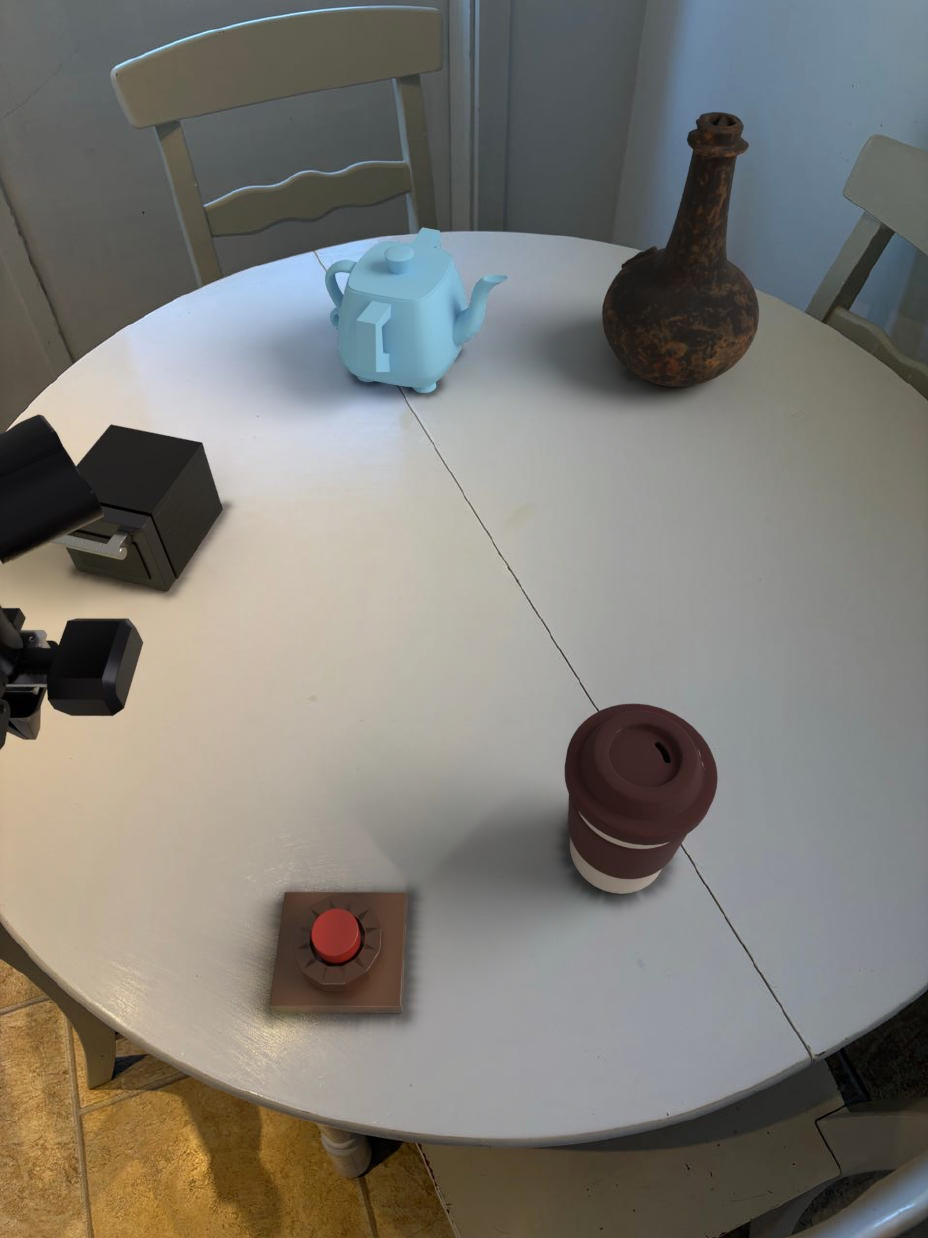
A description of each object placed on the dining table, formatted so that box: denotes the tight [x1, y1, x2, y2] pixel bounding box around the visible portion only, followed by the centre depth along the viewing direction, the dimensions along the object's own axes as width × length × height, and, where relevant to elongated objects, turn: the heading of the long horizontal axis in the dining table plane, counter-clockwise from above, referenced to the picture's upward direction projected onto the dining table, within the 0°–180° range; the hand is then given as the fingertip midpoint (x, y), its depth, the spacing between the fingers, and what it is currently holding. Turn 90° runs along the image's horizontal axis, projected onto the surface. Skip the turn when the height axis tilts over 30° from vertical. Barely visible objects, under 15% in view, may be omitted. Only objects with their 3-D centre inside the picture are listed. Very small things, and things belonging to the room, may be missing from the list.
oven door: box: [49, 506, 177, 592], centre depth 83 cm, size 4×10×9 cm, turn 74°
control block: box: [269, 891, 409, 1014], centre depth 63 cm, size 9×8×4 cm
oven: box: [76, 423, 224, 580], centre depth 87 cm, size 10×10×9 cm
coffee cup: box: [564, 703, 719, 895], centre depth 63 cm, size 10×10×15 cm
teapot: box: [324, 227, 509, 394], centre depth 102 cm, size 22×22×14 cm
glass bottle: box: [601, 111, 760, 388], centre depth 97 cm, size 18×18×28 cm
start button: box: [311, 909, 361, 963], centre depth 61 cm, size 3×3×2 cm
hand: (32, 734), depth 62 cm, fingers closed
